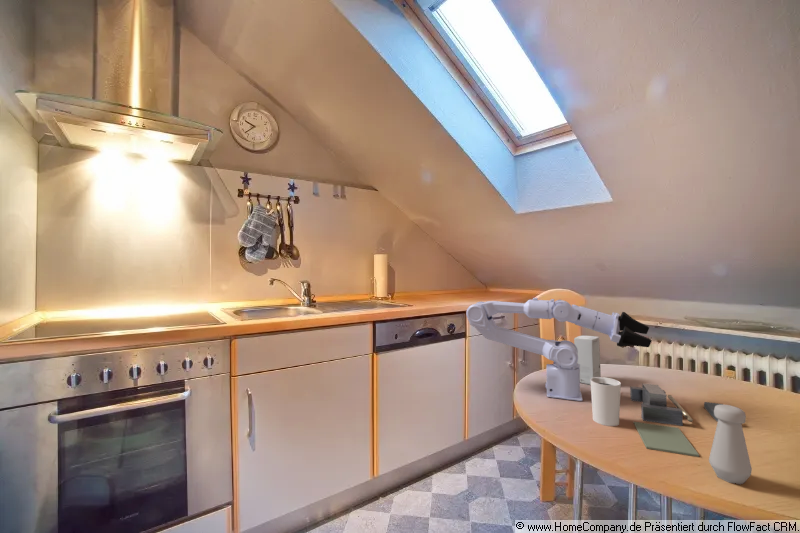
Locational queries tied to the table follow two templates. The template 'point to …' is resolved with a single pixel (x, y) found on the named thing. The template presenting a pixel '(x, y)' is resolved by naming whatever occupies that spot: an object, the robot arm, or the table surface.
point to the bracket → (711, 408)
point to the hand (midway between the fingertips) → (649, 336)
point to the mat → (665, 439)
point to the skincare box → (588, 357)
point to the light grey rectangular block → (653, 395)
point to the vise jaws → (660, 410)
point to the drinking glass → (605, 400)
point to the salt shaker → (730, 446)
